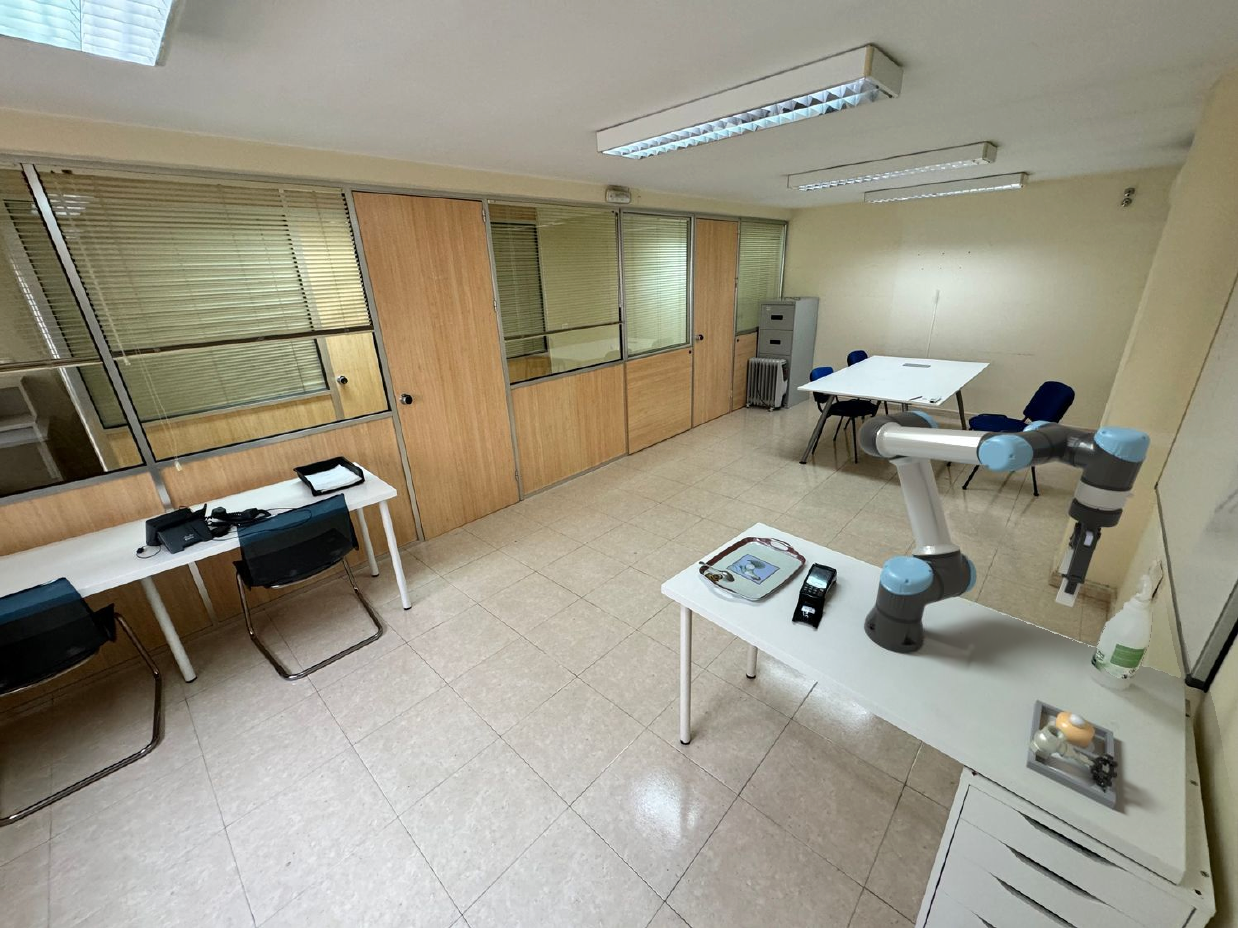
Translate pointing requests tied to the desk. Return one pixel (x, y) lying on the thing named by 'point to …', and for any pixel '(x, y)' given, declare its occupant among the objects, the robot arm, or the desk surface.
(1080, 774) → the grey divided tray
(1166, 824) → the desk surface
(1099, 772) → the valve
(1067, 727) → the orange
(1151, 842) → the desk surface
